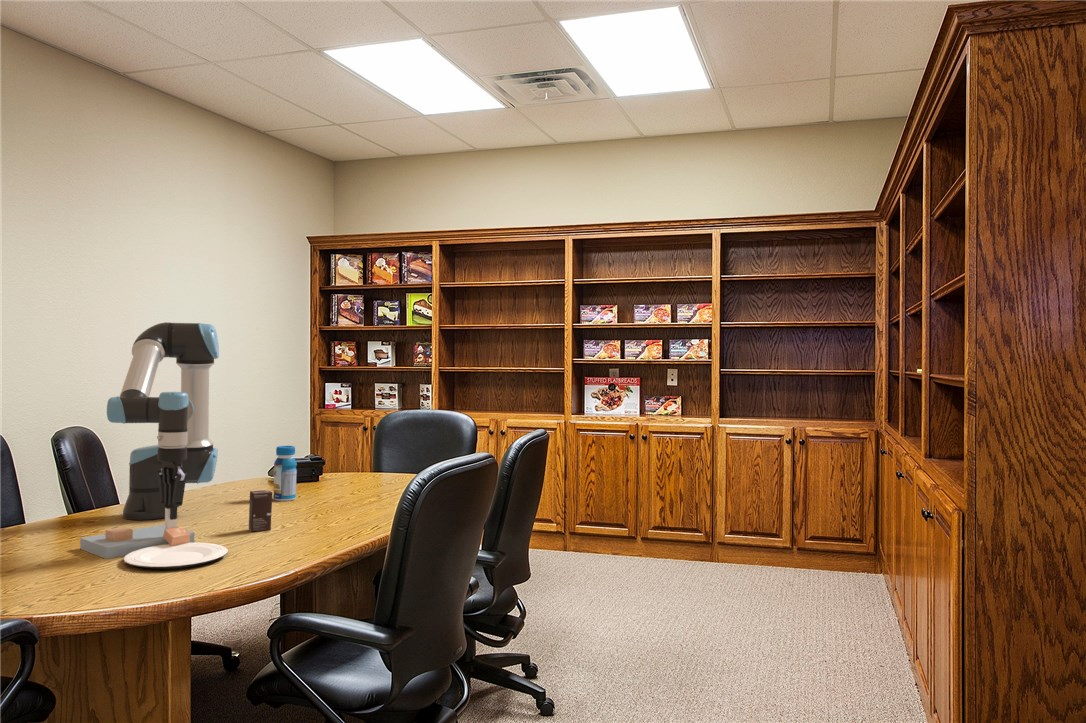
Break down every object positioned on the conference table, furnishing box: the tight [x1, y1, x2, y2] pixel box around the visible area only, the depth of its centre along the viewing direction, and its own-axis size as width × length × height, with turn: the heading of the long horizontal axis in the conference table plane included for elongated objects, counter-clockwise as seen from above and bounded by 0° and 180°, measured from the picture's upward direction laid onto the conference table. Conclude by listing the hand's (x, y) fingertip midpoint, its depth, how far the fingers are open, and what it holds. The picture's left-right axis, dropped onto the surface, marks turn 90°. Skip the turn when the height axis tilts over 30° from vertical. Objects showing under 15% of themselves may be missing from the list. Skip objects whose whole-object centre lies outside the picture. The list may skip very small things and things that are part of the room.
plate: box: [123, 542, 229, 570], centre depth 205 cm, size 25×25×2 cm
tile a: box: [163, 526, 190, 546], centre depth 216 cm, size 5×5×2 cm
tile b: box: [105, 526, 134, 542], centre depth 213 cm, size 5×5×2 cm
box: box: [248, 489, 273, 533], centre depth 241 cm, size 6×4×12 cm
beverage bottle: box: [272, 445, 298, 502], centre depth 292 cm, size 8×8×20 cm
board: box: [79, 524, 195, 560], centre depth 218 cm, size 16×24×3 cm, turn 142°
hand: (170, 530), depth 218 cm, fingers closed
